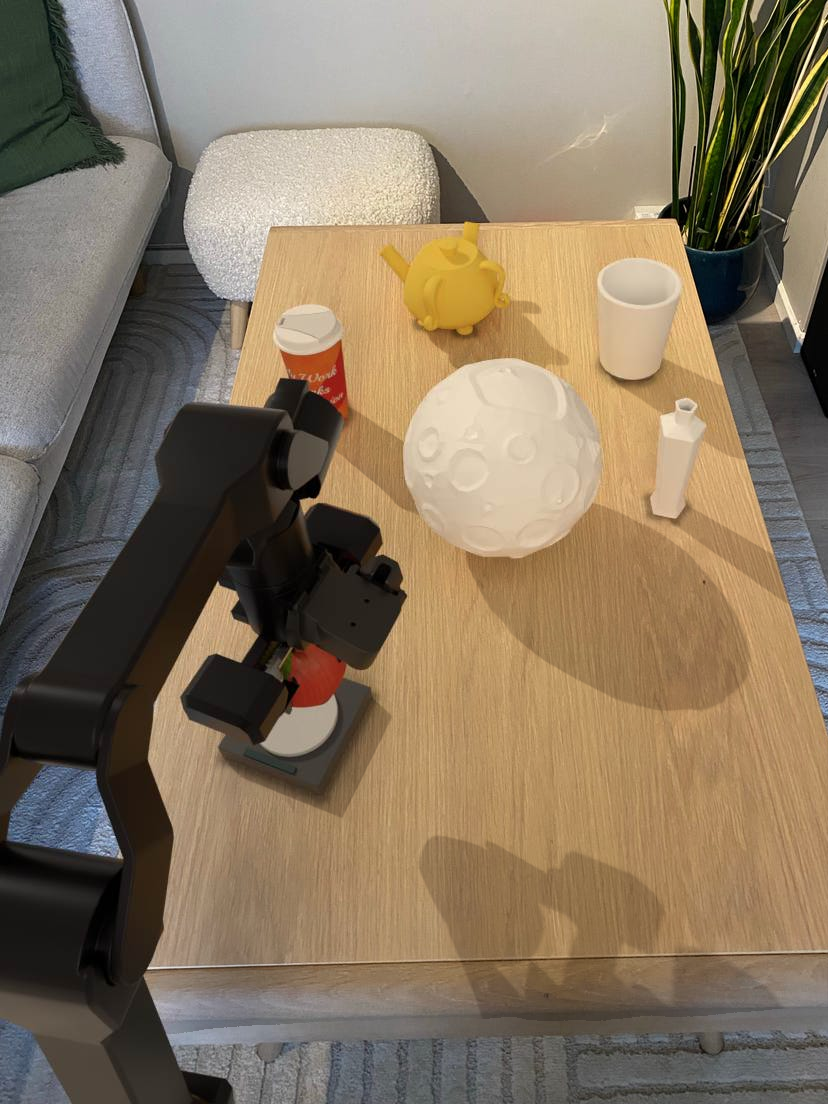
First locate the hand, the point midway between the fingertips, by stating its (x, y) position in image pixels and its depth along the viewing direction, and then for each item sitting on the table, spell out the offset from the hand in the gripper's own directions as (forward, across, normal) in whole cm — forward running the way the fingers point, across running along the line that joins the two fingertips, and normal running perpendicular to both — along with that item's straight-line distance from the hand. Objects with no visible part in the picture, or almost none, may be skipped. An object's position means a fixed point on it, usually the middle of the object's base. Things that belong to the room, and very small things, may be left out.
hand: (308, 671), depth 72 cm
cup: (+13, +59, -11) cm, 61 cm away
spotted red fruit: (+3, 0, 0) cm, 3 cm away
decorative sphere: (+13, +30, -5) cm, 33 cm away
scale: (+13, 0, +4) cm, 14 cm away
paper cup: (+13, +37, +21) cm, 45 cm away
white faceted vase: (+13, +38, -21) cm, 45 cm away
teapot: (+14, +61, +16) cm, 65 cm away
